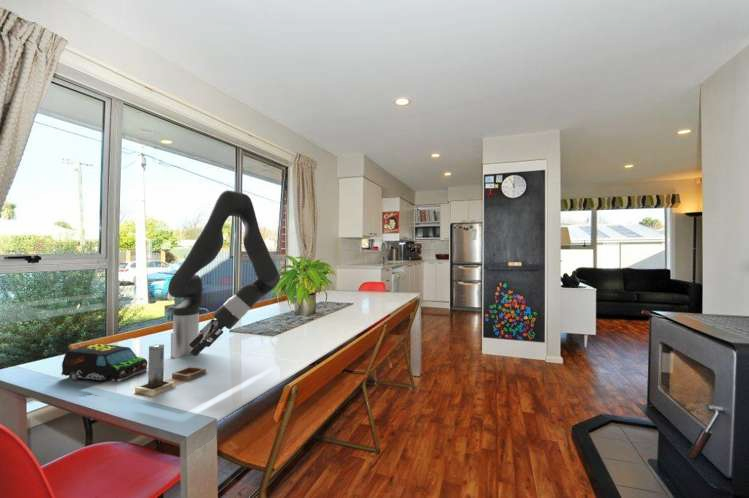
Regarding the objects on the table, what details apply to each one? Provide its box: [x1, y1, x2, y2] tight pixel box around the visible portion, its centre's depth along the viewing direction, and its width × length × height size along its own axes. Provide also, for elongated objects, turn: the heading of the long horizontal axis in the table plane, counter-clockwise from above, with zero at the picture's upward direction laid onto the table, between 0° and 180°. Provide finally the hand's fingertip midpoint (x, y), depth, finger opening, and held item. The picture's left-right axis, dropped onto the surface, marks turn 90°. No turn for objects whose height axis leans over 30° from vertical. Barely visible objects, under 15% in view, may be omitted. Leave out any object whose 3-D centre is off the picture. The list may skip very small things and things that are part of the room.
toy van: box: [60, 343, 148, 383], centre depth 112 cm, size 11×25×10 cm, turn 78°
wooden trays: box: [133, 366, 207, 398], centre depth 104 cm, size 7×20×3 cm, turn 161°
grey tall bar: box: [147, 343, 165, 389], centre depth 99 cm, size 4×4×13 cm
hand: (191, 350), depth 104 cm, fingers open, 8 cm apart
